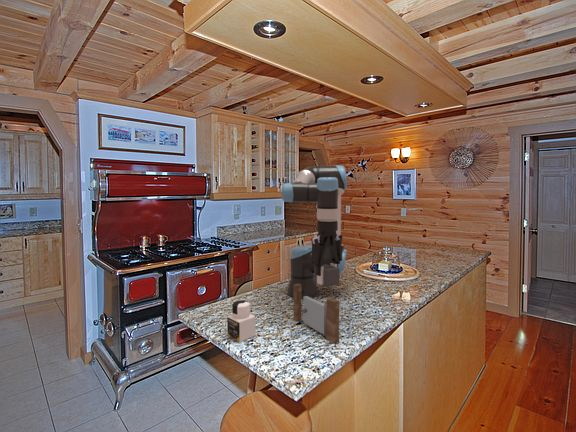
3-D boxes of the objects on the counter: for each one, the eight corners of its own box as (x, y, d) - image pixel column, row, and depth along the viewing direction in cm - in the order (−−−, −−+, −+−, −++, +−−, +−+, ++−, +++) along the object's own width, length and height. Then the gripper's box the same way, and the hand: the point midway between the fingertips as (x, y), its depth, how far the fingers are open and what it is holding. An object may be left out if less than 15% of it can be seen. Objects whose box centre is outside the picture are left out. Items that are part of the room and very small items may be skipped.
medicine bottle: (227, 335, 112) (226, 302, 111) (243, 329, 117) (243, 297, 116) (239, 342, 107) (238, 307, 106) (256, 335, 112) (255, 302, 111)
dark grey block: (339, 284, 118) (339, 268, 117) (327, 287, 114) (327, 270, 114) (326, 279, 124) (326, 264, 123) (314, 282, 120) (314, 266, 119)
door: (307, 322, 122) (307, 294, 121) (330, 336, 110) (330, 304, 110) (300, 324, 120) (300, 295, 119) (323, 338, 109) (323, 306, 108)
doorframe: (298, 318, 127) (298, 283, 126) (339, 341, 107) (339, 300, 106) (293, 319, 125) (293, 284, 124) (333, 343, 106) (333, 302, 105)
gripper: (338, 217, 125) (337, 275, 128) (300, 221, 114) (300, 284, 116) (353, 219, 119) (352, 280, 122) (314, 223, 108) (314, 289, 110)
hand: (326, 282), depth 119 cm, fingers closed on dark grey block, 6 cm apart
